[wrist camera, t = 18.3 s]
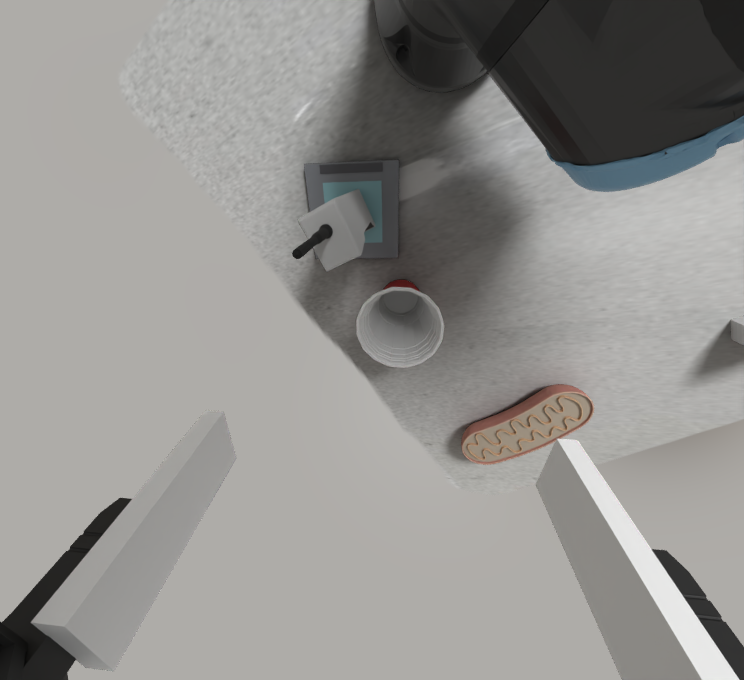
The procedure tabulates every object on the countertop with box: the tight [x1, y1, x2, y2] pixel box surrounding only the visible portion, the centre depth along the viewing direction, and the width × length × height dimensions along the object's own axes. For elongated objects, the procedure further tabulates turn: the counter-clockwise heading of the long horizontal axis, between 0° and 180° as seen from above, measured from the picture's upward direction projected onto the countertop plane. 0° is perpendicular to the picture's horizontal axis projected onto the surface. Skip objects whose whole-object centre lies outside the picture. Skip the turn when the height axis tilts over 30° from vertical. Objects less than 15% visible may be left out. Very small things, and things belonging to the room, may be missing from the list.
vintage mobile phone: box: [292, 189, 376, 272], centre depth 29 cm, size 4×5×25 cm
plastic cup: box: [356, 280, 445, 368], centre depth 42 cm, size 11×11×12 cm
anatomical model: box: [461, 384, 594, 465], centre depth 54 cm, size 23×10×5 cm, turn 131°
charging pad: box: [304, 160, 399, 259], centre depth 41 cm, size 12×12×1 cm
